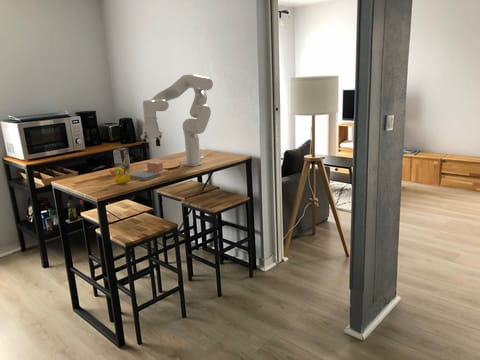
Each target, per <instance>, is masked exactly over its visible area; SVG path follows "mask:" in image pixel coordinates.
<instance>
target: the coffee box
mask: <svg viewBox="0 0 480 360" xmlns="http://www.w3.org/2000/svg"><path fill="white" fill-rule="evenodd" d="M112 151H113V153H112V154H113V161H114V162H113V163H114V169H115V168H117V167H120V168H122V169H124V173H123V174H122V175H121V176H125V175H126V173H130V172H131V163H130V154H129V147H118V148H115V149H114V150H112Z"/></svg>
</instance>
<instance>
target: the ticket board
mask: <svg viewBox="0 0 480 360" xmlns="http://www.w3.org/2000/svg"><path fill="white" fill-rule="evenodd" d="M143 170H144V169H141V170H138V171H134V172H131V173H130V172H129V174H130V179H132V180H138V181H139V180H140V181H144V182H146V181H149V180H151V179H152V180H153V179H155V178H158V177H160V176H159V173H155V172H149V171H143Z"/></svg>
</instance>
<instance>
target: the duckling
mask: <svg viewBox="0 0 480 360" xmlns="http://www.w3.org/2000/svg"><path fill="white" fill-rule="evenodd" d="M109 173H110V174H111V175H115V176H114V178H113V180H114V182H115V183H116V184H118V185H125V184H127V183H129V182H130V180H131V178H130V172H128V173H126V174H124V175H122V174H123V173H124V169H122V168H120V167H117V168H115V167H114V169H113V170H111V169H109Z"/></svg>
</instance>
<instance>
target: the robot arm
mask: <svg viewBox="0 0 480 360" xmlns="http://www.w3.org/2000/svg"><path fill="white" fill-rule="evenodd" d="M213 86H214V83H213V80H212V79H211V78H210V77H208V76H202V75H198V74H184V75H182V76H181V77H179V78H178V79H177V80H176V81H174V83H172V85H170V86H169V87H167V88H165V89H163V90H161V91H160V92H158V93H157V94H156V95H154V96H153V97H152V98H151V99H146V100H143V101H142V109H143V110H142V111H143V121H144V122H143V125H142V134H141V135H140V139H141V140H142V142H143V143H144V149H147V150H149V149H150V143H149V140H153V139H155V146H156V147H161V139H162V136H163V132H161V131H160V127H159V123H158V121H157V120H158V117H157V112H165V111H167V110H168V108H169V106H170V105H169V102H168V101H171V100H175V99H177V98H180V97H181V96H182V95H183V94H184V93H185V92H186V91H187V90H188V89H193V91H194V98H193V101H192V104H191V107H190V110H189V115H190V117H192V118H186V119H184V121H183V122H182V130H183V134H184V136H183V137H184V145H185V146H184V147H185V158H186V159H185V160H186V161H185V162H183V165H184V166H188V167H196V166H201V165H203V161H202V160H204V159H205V157H204V156H200V153H201V152H200V139H199V135H200V134H203V133H205V131H206V129H207V126H208V123H209V121H210V118H211V114H212V113H211V112H212V111H211V108H210V106H209V105H207V104H206V103H207V100H208V95H207V93H206V92H207V91H210V90H212V88H213Z"/></svg>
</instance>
